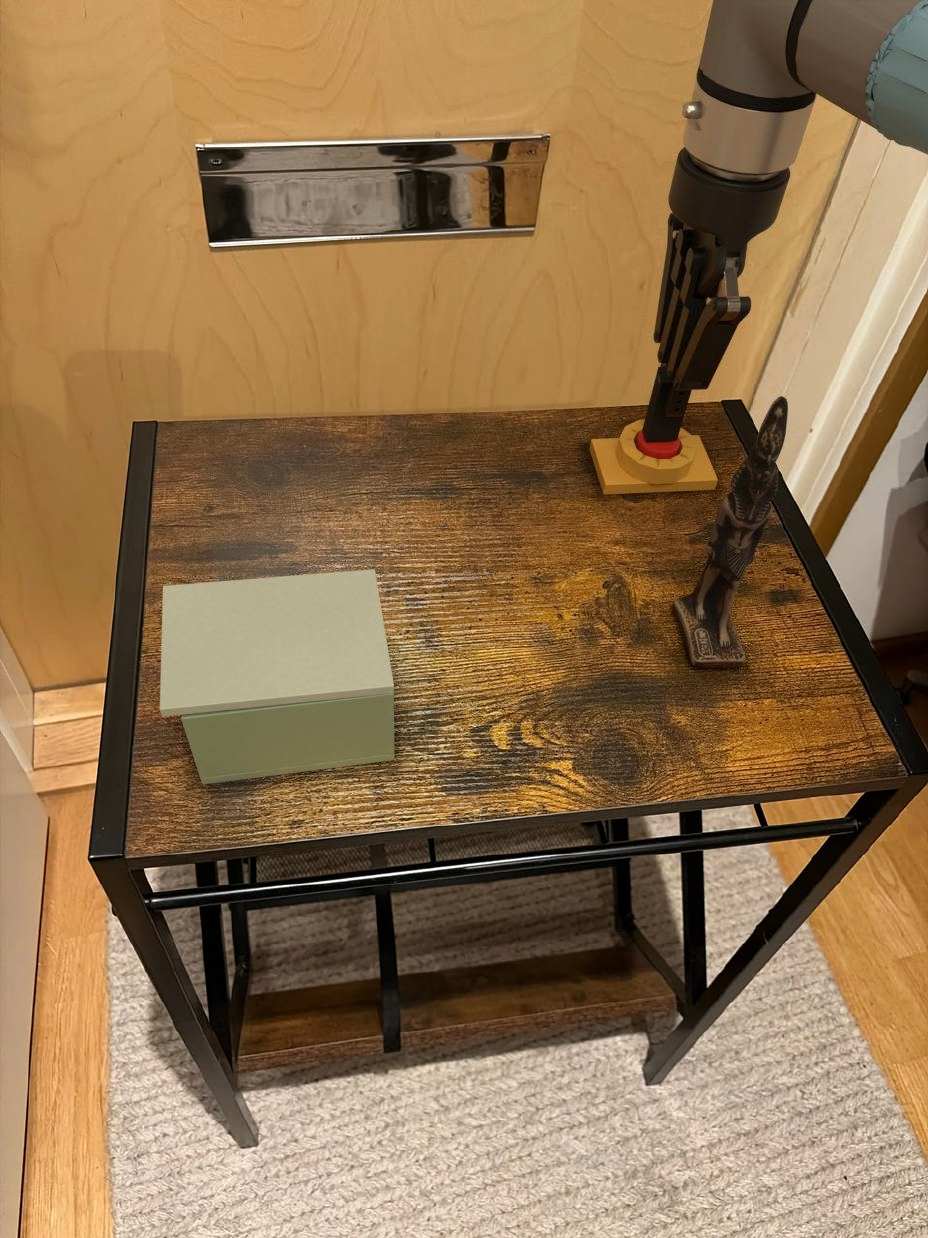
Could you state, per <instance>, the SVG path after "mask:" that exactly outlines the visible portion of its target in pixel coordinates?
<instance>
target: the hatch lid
mask: <svg viewBox="0 0 928 1238" xmlns="http://www.w3.org/2000/svg"><path fill="white" fill-rule="evenodd" d="M161 604H162V607H161V640H160V642H161V643H160V645H161V646H160V647H161V648H160V678H159V679H160V680H159V681H160V682H159V711H160V715H161V717H164V718H165V717H173V716H181V715H184V714H194V713H204V712H213V711H223V710H233V709H243V708H253V707H262V706H272V705H282V704H292V703H301V702H311V701H321V700H331V699H340V698H350V697H360V696H370V695H379V694H389V693H394V694H395V682H394V677H393V671H392V670H393V669H392V664H391V659H390V654H389V646H388V645H389V644H388V641H387V634H386V627H385V621H384V615H383V609H382V604H381V597H380V592H379V585H378V579H377V572H376V569H375V568H371V569H358V570H347V571H346V570H345V571H333V572H319V573H309V574H308V573H307V574H297V575H294V574H293V575H282V576H272V577H271V576H269V577H258V578H257V577H256V578H244V579H233V580H231V579H230V580H221V581H207V582H206V581H205V582H196V583H195V582H194V583H182V584H169V585H163V586H162V603H161Z"/></svg>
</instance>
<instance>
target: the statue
mask: <svg viewBox="0 0 928 1238" xmlns="http://www.w3.org/2000/svg"><path fill="white" fill-rule="evenodd" d="M788 413H789V402H788V399H787V398H786V397H785V396H783V395H780V396H778V397H777V398H776V399H774V401H773V402H772V403H771V404H770V407H769V408H768V411H767V412H766V414H765V416H764V418H763V421H762V422H761V425H760V428H759V430H758V433H757V437H756V439H755V442H754V445H753V446H752V448H751V450H750V452H749V454H748V456H747V457H746V459H745V460H744V461H743V462H742V464H740V466H739V467H738V468H737V470H736V471H735V473H734V475H733V477H732V479H731V482H730V489H731V491H730V492H729V493H728V494H726V496H725V497H724V498H723V500H722V501H721V503H720V505H719V507H718V509H717V513H716V516H715V519H714V522H713V526H712V529H711V533H710V535H709V539H708V540H707V543H706V545H705V553H706V555H707V559H706V561H705V565H704V568H703V570H702V572H701V574H700V576H699V578H698V580H697V583H696V585H695V587H694V589H693V591H692V592H691V593H689V594H686V595H683V596H679V597H675V599H673V601H672V609H673V612H674V615H675V617H676V619H677V621H678V625H679V628H680V631H681V634H682V637H683V641H684V644H685V648H686V650H687V654H688V657H689V661H690V663H691V665H692V666H694V667H695V668H703V669H738V668H740V667H742V666H744V665H745V663H746V653H745V651H744V648H743V645H742V643H741V641H740V638H739V635H738V632H737V630H736V627H735V624H734V622H733V618H732V616H731V610H732V607H733V603H734V600H735V597H736V594H737V591H738V588H739V586H740V583H741V582H742V580H743V579H744V576H745V572H746V570H747V567H748V566H749V565H751V564H752V563H753V562H754V560H755V558H756V549H757V547H758V545H759V544H760V542H761V539H762V538H763V536H764V532H765V529H766V528H767V525H768V523H769V522H770V520H771V517H772V513H773V505H772V503H771V502H772V500H773V499H774V498H775V496H776V495H777V492H778V487H779V466H778V464H777V461H778V459H779V457H780V454H781V452H782V449H783V448H784V444H785V439H786V435H787V426H788V416H789V415H788Z"/></svg>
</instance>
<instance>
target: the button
mask: <svg viewBox="0 0 928 1238" xmlns="http://www.w3.org/2000/svg"><path fill="white" fill-rule="evenodd" d="M679 445H680V438H679V436H678V439H677V441H650V442H646V440H645V437H644V434H643V431H642V430H641V431H640V432H639V435H638V439H637V443H636V449H638V450H639V451H640V452H641V453H643V454H644V455H646V456H649V457H652V458H655V459H671V458H673V457H675V456H677V452H678V449H679Z"/></svg>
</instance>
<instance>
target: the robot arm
mask: <svg viewBox="0 0 928 1238" xmlns="http://www.w3.org/2000/svg"><path fill="white" fill-rule="evenodd" d="M698 64H699V65H698V68H697V71H696V77H695V82H694V86H693V91H692V95H691V100H690V101H686V102H685V103H684V104H683V105H682V112H681V113H682V114H681V115H682V116H683V118H685V119H686V121H685V126H684V129H683V135H682V144H683V146H684V147H682V148H681V149H680V151H679V152H678V154H677V158H676V162H675V166H674V170H673V175H672V180H671V184H670V189H669V193H668V198H667V200H668V201H667V202H668V206H669V208H670V213H669V216H668V218H667V237H666V239H667V240H666V251H665V257H664V264H663V271H662V278H661V283H660V290H659V297H658V302H657V310H656V318H655V324H654V331H653V341H654V343H655V344H659V347H658V351H657V353H656V355H657V356H656V357H657V362H658V363H659V364H660V365H659V366H658V367H657V371H656V375H655V378H654V383H653V386H652V390H651V394H650V398H649V402H648V405H647V410H646V414H645V418H644V420H645V421H644V425H643V429H642V431H643V434H644V437H645V440H646V442H650V441H677V439H678V435H679V432H680V429H681V428H682V425H683V421H684V418H685V415H686V411H687V408H688V404H689V401H690V398H691V394H692V391H700V390H702V391H703V390H708V389H709V387H710V385H711V383H712V380H713V379H714V376H715V374H716V372H717V370H718V368H719V367H720V365H721V362H722V360H723V358H724V356H725V353H726V351H727V349H728V347H729V346H730V343H731V341H732V339H733V337H734V335H735V332H736V331H737V328H738V327H739V325H740V324H741V322H742V321H743V320H744V319H745V318H746V317H747V316H748V315H749V314H750V312H751V310H752V299H751V297H750V296H748V295H747V296H746V295H745V296H741V295H740V292H739V282H738V281H739V280H738V278H740V277H741V276H742V274H743V272H744V270H745V266H746V259H747V250H748V244H749V242H750V241H751V240H752V239H754V238H755V237H756V236H758V235H760V234H762V233H763V232H765V231H767V230H768V229H769V228H771V227H772V226H773V225H774V223H775V222H776V220H777V218H778V215H779V212H780V209H781V206H782V203H783V201H784V197H785V193H786V190H787V188H788V184H789V181H790V178H791V170H790V169H791V168H790V167H791V166H793V165H794V164H795V163H796V161H797V158H798V154H799V151H800V148H801V146H802V143H803V139H804V136H805V134H806V130H807V127H808V124H809V121H810V118H811V115H812V112H813V109H814V106H815V103H816V99H817V97H818V96H820V97H821V98H823V99H824V100H826V101H828V102H829V103H831V104H833V105H835V106H836V107H837V108H840V109H841V110H843V111H845V112H847V113H848V114H850V115H851V116H853V117H855V118H857V119H858V120H860V121H861V122H863V123H865V124H866V125H868V126H870V127H872V128H873V129H875V130H876V131H877V133H879V134H880V135H883V138H884V139H887V140H888V141H893V142H894V143H896V144H897V145H899V146H903V147H907V148H912V149H913V150H916V151H918V152H921V153H922V154H925V155H927V156H928V0H712V4H711V9H710V13H709V18H708V23H707V27H706V31H705V37H704V40H703V45H702V50H701V56H700V59H699V63H698ZM817 95H818V96H817Z"/></svg>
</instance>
